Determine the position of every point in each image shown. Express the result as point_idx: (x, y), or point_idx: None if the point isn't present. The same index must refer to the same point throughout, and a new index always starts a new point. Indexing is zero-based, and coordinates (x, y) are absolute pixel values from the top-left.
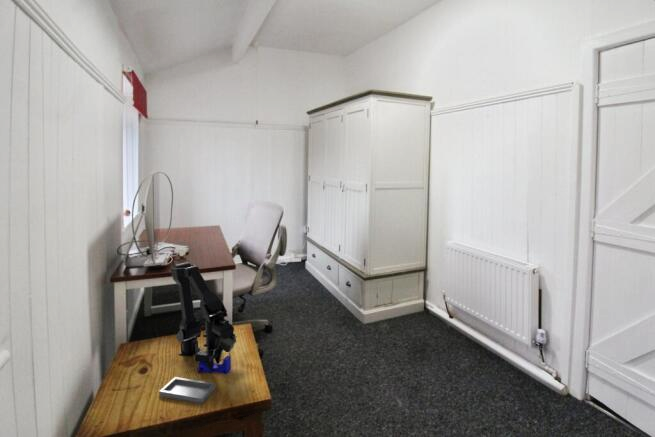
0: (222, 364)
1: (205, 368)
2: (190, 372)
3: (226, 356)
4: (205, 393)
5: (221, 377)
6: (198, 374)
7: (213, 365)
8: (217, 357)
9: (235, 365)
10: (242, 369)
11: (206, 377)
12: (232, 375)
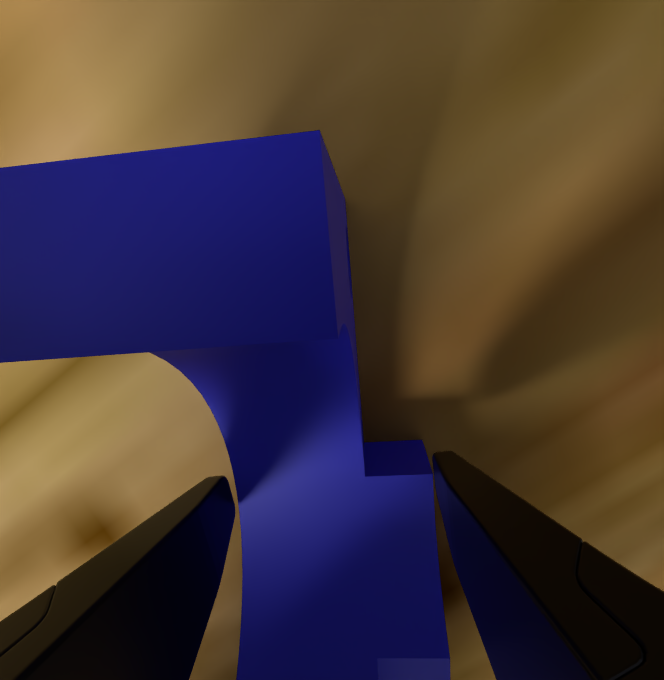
0: (348, 319)
1: (437, 576)
2: None
3: (60, 355)
4: None
5: (467, 222)
6: None
7: (307, 519)
8: (175, 599)
9: None
10: (91, 3)
11: (540, 441)
12: (340, 61)
